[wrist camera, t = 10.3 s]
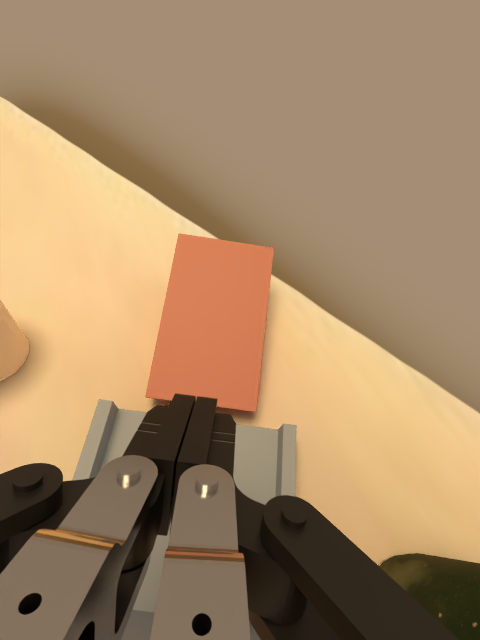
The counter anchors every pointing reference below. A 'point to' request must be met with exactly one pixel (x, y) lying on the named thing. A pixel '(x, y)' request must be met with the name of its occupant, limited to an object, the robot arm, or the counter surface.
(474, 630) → the green water bottle
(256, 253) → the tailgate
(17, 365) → the tan cylinder
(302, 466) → the counter surface
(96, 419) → the tray
